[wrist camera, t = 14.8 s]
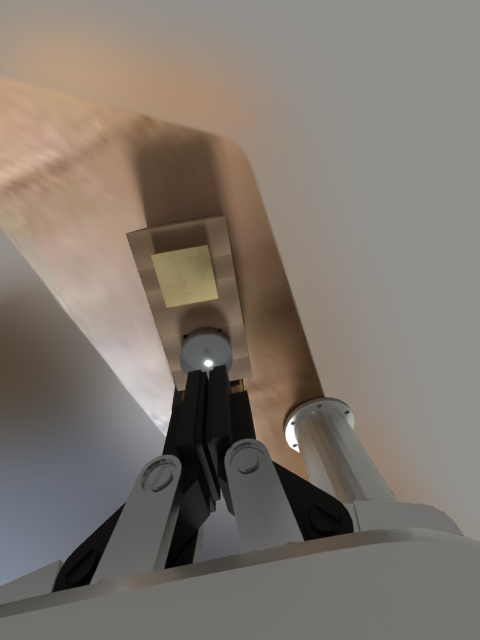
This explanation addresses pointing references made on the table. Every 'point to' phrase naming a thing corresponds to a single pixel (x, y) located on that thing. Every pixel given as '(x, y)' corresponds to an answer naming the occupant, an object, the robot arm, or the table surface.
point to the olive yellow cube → (185, 275)
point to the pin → (205, 350)
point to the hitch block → (200, 314)
